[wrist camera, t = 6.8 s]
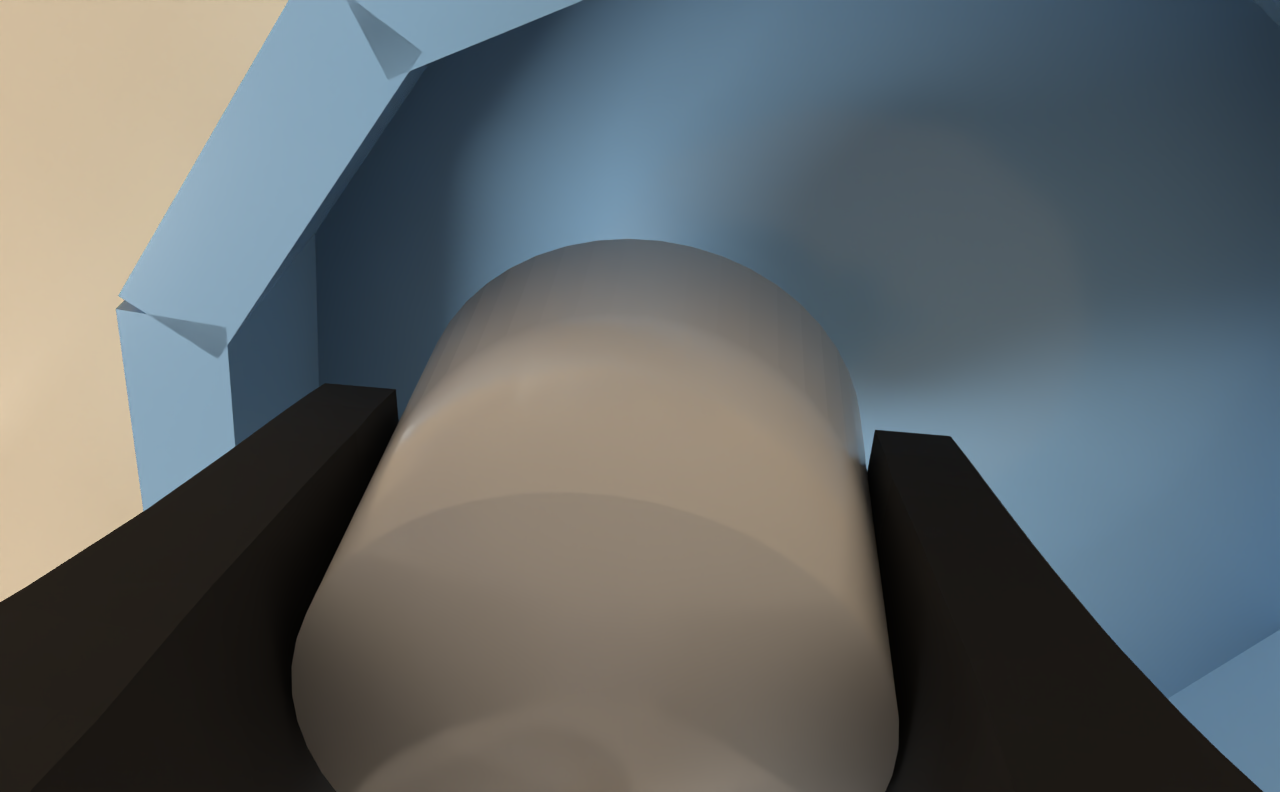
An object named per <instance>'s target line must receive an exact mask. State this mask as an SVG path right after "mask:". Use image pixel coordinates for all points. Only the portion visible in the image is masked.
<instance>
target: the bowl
mask: <svg viewBox="0 0 1280 792" xmlns="http://www.w3.org/2000/svg"><path fill="white" fill-rule="evenodd" d="M616 239H640V240H656V241H664V242H669V243H675V244H680V245H686V246H691V247H694V248H698V249H701V250H704V251H707V252H711V253H714V254H717V255H720V256H723V257H725V258H727V259H730V260H732V261H734V262H736V263H739V264H741V265H743V266H745V267H747V268H750V269H752V270H753V271H755V272H756V273H758V274H760V275H761V276H763V277H765V278H766V279H768V280H770V281H771V282H773V283H774V284H776V285H778V286H779V287H780V288H781V289H783V290H784V291H785V292H786V293H788V294H789V295H790V296H791V297H793V298H794V299H795V300H796V301H798V302H799V303H800V304H801V305H802V306H803V307H804V308H805V309H806V310H807V311H808V312H809V313H810V314H811V316H812V317H813V318H814V319H815V320H816V321H817V322H818V323H819V324H820V325H821V326H822V328H823V329H824V331H825V332H826V333H827V335H828V336H829V338H830V339H831V340H832V342H833V343H834V345H835V346H836V347H837V349H838V351H839V353H840V355H841V357H842V359H843V361H844V363H845V365H846V367H847V369H848V371H849V374H850V377H851V380H852V383H853V386H854V389H855V392H856V395H857V400H858V406H859V412H860V418H861V425H862V433H863V440H864V448H865V456H866V464H867V470H868V465H869V459H870V454H871V448H872V443H873V438H874V432H875V430H885V431H897V432H909V433H920V434H932V435H944V436H951V437H952V439H953V440H954V441H955V442H956V444H957V445H958V446H959V447H960V449H961V450H962V451H963V453H964V454H965V455H966V456H967V458H968V459H969V460H970V462H971V463H972V464H973V466H974V467H975V468H976V470H977V471H978V472H979V474H980V475H981V476H982V478H983V479H984V480H985V482H986V483H987V484H988V486H989V487H990V488H991V490H992V491H993V492H994V494H995V495H996V496H997V498H998V499H999V500H1000V501H1001V503H1002V504H1003V505H1004V507H1005V508H1006V509H1007V511H1008V512H1009V513H1010V515H1011V516H1012V517H1013V519H1014V520H1015V521H1016V522H1017V524H1018V525H1019V526H1020V528H1021V529H1022V530H1023V531H1024V533H1025V534H1026V535H1027V537H1028V538H1029V539H1030V541H1031V542H1032V543H1033V544H1034V546H1035V547H1036V548H1037V549H1038V551H1039V552H1040V553H1041V555H1042V556H1043V557H1044V558H1045V560H1046V561H1047V562H1048V563H1049V565H1050V566H1051V567H1052V568H1053V570H1054V571H1055V572H1056V573H1057V574H1058V576H1059V577H1060V578H1061V579H1062V580H1063V582H1064V583H1065V584H1066V585H1067V586H1068V588H1069V589H1070V590H1071V591H1072V592H1073V594H1074V595H1075V596H1076V597H1077V598H1078V599H1079V601H1080V602H1081V603H1082V604H1083V605H1084V607H1085V608H1086V609H1087V610H1088V611H1089V613H1090V614H1091V615H1092V616H1093V617H1094V619H1095V620H1096V621H1097V622H1098V623H1099V625H1100V626H1101V627H1102V628H1103V629H1104V630H1105V632H1106V633H1107V634H1108V635H1109V636H1110V637H1111V638H1112V640H1113V641H1114V642H1115V643H1116V644H1117V645H1118V646H1119V647H1120V649H1121V650H1122V651H1123V652H1124V653H1125V654H1126V655H1127V656H1128V657H1129V658H1130V659H1131V660H1132V661H1133V663H1134V664H1135V665H1136V666H1137V667H1138V668H1139V669H1140V670H1141V671H1142V672H1143V673H1144V674H1145V675H1146V676H1147V677H1148V678H1149V679H1150V681H1151V682H1152V683H1153V684H1154V685H1155V686H1156V687H1157V688H1158V689H1159V690H1160V691H1161V692H1162V693H1163V694H1164V695H1165V696H1166V698H1167V699H1168V700H1169V701H1170V702H1171V703H1172V704H1173V705H1174V706H1175V707H1176V708H1177V709H1178V710H1179V711H1180V712H1181V713H1182V714H1183V715H1184V716H1185V717H1186V718H1187V719H1188V720H1189V721H1190V722H1191V723H1192V724H1193V725H1194V726H1195V727H1196V728H1197V729H1198V730H1199V731H1200V732H1201V733H1202V734H1203V735H1204V736H1205V737H1206V738H1207V739H1208V740H1209V741H1210V742H1211V743H1212V744H1213V745H1214V746H1215V747H1216V748H1217V749H1218V750H1219V751H1220V752H1221V753H1222V754H1223V755H1224V756H1225V757H1226V758H1227V759H1229V760H1230V761H1231V762H1232V763H1233V764H1234V765H1235V766H1236V767H1237V768H1238V769H1239V770H1240V771H1242V772H1243V773H1244V774H1245V775H1246V776H1247V777H1248V778H1249V779H1250V780H1251V781H1252V782H1253V783H1255V784H1256V785H1257V786H1258V787H1259V788H1260V789H1261V790H1262V791H1263V792H1280V0H289V1H288V2H287V4H286V6H285V8H284V9H283V11H282V13H281V15H280V16H279V18H278V20H277V22H276V23H275V25H274V27H273V28H272V30H271V32H270V34H269V35H268V37H267V39H266V41H265V42H264V44H263V46H262V48H261V49H260V51H259V53H258V54H257V56H256V58H255V60H254V61H253V63H252V65H251V67H250V68H249V70H248V72H247V74H246V75H245V77H244V79H243V80H242V82H241V84H240V86H239V87H238V89H237V91H236V93H235V94H234V96H233V98H232V100H231V101H230V103H229V105H228V106H227V108H226V110H225V112H224V113H223V115H222V117H221V119H220V120H219V122H218V124H217V126H216V127H215V129H214V131H213V132H212V134H211V136H210V138H209V139H208V141H207V143H206V145H205V146H204V148H203V150H202V152H201V153H200V155H199V157H198V158H197V160H196V162H195V164H194V165H193V167H192V169H191V171H190V172H189V174H188V176H187V178H186V179H185V181H184V183H183V184H182V186H181V188H180V190H179V191H178V193H177V195H176V197H175V198H174V200H173V202H172V204H171V205H170V207H169V209H168V210H167V212H166V214H165V216H164V217H163V219H162V221H161V223H160V224H159V226H158V228H157V230H156V231H155V233H154V235H153V237H152V238H151V240H150V242H149V243H148V245H147V247H146V249H145V250H144V252H143V254H142V256H141V257H140V259H139V261H138V263H137V264H136V266H135V268H134V269H133V271H132V273H131V275H130V276H129V278H128V280H127V282H126V283H125V285H124V287H123V289H122V290H121V292H120V294H119V295H118V296H119V297H121V298H122V299H124V301H123V302H122V303H121V304H120V305H119V306H118V307H117V308H116V313H117V321H118V328H119V335H120V342H121V350H122V357H123V364H124V372H125V379H126V386H127V394H128V401H129V408H130V416H131V423H132V430H133V438H134V445H135V452H136V460H137V467H138V474H139V482H140V489H141V496H142V503H143V511H145V510H146V509H148V508H149V507H151V506H152V505H153V504H155V503H156V502H158V501H159V500H161V499H162V498H163V497H165V496H166V495H168V494H169V493H170V492H172V491H173V490H175V489H176V488H178V487H179V486H180V485H182V484H183V483H185V482H186V481H187V480H189V479H190V478H192V477H193V476H194V475H196V474H197V473H199V472H200V471H202V470H203V469H204V468H206V467H207V466H209V465H210V464H211V463H213V462H214V461H216V460H217V459H219V458H220V457H221V456H223V455H224V454H226V453H227V452H228V451H230V450H231V449H232V448H234V447H235V446H237V445H238V444H239V443H241V442H242V441H243V440H245V439H246V438H248V437H249V436H250V435H252V434H253V433H254V432H256V431H257V430H258V429H260V428H261V427H263V426H264V425H265V424H267V423H268V422H269V421H271V420H272V419H274V418H275V417H276V416H278V415H279V414H280V413H282V412H283V411H285V410H286V409H287V408H289V407H290V406H292V405H293V404H294V403H296V402H297V401H299V400H300V399H302V398H303V397H305V396H306V395H307V394H309V393H310V392H312V391H314V390H315V389H317V388H318V387H320V386H321V385H323V384H324V383H330V384H342V385H353V386H365V387H377V388H389V389H396V396H397V407H398V419H399V420H400V418H401V416H402V414H403V412H404V410H405V408H406V406H407V404H408V402H409V400H410V398H411V396H412V393H413V391H414V389H415V387H416V385H417V383H418V381H419V379H420V377H421V375H422V373H423V371H424V369H425V367H426V365H427V362H428V360H429V358H430V356H431V354H432V352H433V350H434V348H435V346H436V344H437V342H438V340H439V339H440V337H441V335H442V334H443V332H444V330H445V329H446V327H447V325H448V324H449V322H450V321H451V319H452V318H453V317H454V316H455V315H456V313H457V312H458V311H459V310H460V309H461V308H462V306H463V305H464V304H465V303H466V302H467V301H468V300H469V299H470V298H471V297H472V296H473V295H474V294H476V293H477V292H478V291H479V290H480V289H481V288H482V287H483V286H485V285H486V284H487V283H488V282H490V281H491V280H493V279H494V278H496V277H498V276H499V275H501V274H502V273H504V272H505V271H507V270H508V269H510V268H512V267H514V266H516V265H518V264H520V263H522V262H524V261H526V260H528V259H531V258H533V257H535V256H537V255H540V254H543V253H546V252H549V251H553V250H556V249H559V248H562V247H565V246H570V245H575V244H581V243H586V242H592V241H599V240H616Z"/></svg>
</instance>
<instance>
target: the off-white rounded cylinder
mask: <svg viewBox="0 0 1280 792" xmlns="http://www.w3.org/2000/svg"><path fill="white" fill-rule="evenodd" d="M292 696H293V701H294V706H295V711H296V716H297V721H298V724H299V726H300V729H301V732H302V734H303V737H304V739H305V742H306V745H307V747H308V749H309V751H310V753H311V754H312V756H313V758H314V760H315V761H316V763H317V765H318V767H319V769H320V770H321V772H322V774H323V775H324V776H325V777H326V779H327V780H328V781H329V783H330V784H331V785H332V787H333V788H334V789H335V791H336V792H885V791H886V789H887V787H888V784H889V782H890V779H891V777H892V775H893V770H894V766H895V761H896V757H897V752H898V744H899V716H898V708H897V700H896V692H895V684H894V676H893V668H892V661H891V653H890V645H889V637H888V629H887V621H886V613H885V606H884V598H883V590H882V582H881V574H880V567H879V560H878V553H877V545H876V537H875V529H874V521H873V513H872V505H871V497H870V490H869V482H868V474H867V464H866V456H865V448H864V440H863V433H862V425H861V418H860V412H859V406H858V400H857V395H856V392H855V389H854V386H853V383H852V380H851V377H850V374H849V371H848V369H847V367H846V365H845V363H844V361H843V359H842V357H841V355H840V353H839V351H838V349H837V347H836V346H835V345H834V343H833V342H832V340H831V339H830V338H829V336H828V335H827V333H826V332H825V331H824V329H823V328H822V326H821V325H820V324H819V323H818V322H817V321H816V320H815V319H814V318H813V317H812V316H811V314H810V313H809V312H808V311H807V310H806V309H805V308H804V307H803V306H802V305H801V304H800V303H799V302H798V301H796V300H795V299H794V298H793V297H791V296H790V295H789V294H788V293H786V292H785V291H784V290H783V289H781V288H780V287H779V286H778V285H776V284H774V283H773V282H771V281H770V280H768V279H766V278H765V277H763V276H761V275H760V274H758V273H756V272H755V271H753V270H752V269H750V268H747V267H745V266H743V265H741V264H739V263H736V262H734V261H732V260H730V259H727V258H725V257H723V256H720V255H717V254H714V253H711V252H707V251H704V250H701V249H698V248H694V247H691V246H686V245H680V244H675V243H669V242H664V241H656V240H640V239H616V240H599V241H592V242H586V243H581V244H575V245H570V246H565V247H562V248H559V249H556V250H553V251H549V252H546V253H543V254H540V255H537V256H535V257H533V258H531V259H528V260H526V261H524V262H522V263H520V264H518V265H516V266H514V267H512V268H510V269H508V270H507V271H505V272H504V273H502V274H501V275H499V276H498V277H496V278H494V279H493V280H491V281H490V282H488V283H487V284H486V285H485V286H483V287H482V288H481V289H480V290H479V291H478V292H477V293H476V294H474V295H473V296H472V297H471V298H470V299H469V300H468V301H467V302H466V303H465V304H464V305H463V306H462V308H461V309H460V310H459V311H458V312H457V313H456V315H455V316H454V317H453V318H452V319H451V321H450V322H449V324H448V325H447V327H446V329H445V330H444V332H443V334H442V335H441V337H440V339H439V340H438V342H437V344H436V346H435V348H434V350H433V352H432V354H431V356H430V358H429V360H428V362H427V365H426V367H425V369H424V371H423V373H422V375H421V377H420V379H419V381H418V383H417V385H416V387H415V389H414V391H413V393H412V396H411V398H410V400H409V402H408V404H407V406H406V408H405V410H404V412H403V414H402V416H401V418H400V420H399V422H398V424H397V427H396V429H395V431H394V433H393V435H392V437H391V439H390V441H389V443H388V445H387V447H386V449H385V451H384V453H383V456H382V458H381V460H380V462H379V464H378V466H377V468H376V470H375V472H374V474H373V476H372V478H371V480H370V482H369V484H368V487H367V489H366V491H365V493H364V495H363V497H362V499H361V501H360V503H359V505H358V507H357V509H356V511H355V513H354V516H353V518H352V520H351V522H350V524H349V526H348V528H347V530H346V532H345V534H344V536H343V538H342V540H341V542H340V544H339V547H338V549H337V551H336V553H335V555H334V557H333V559H332V561H331V563H330V565H329V567H328V569H327V571H326V573H325V576H324V578H323V580H322V582H321V584H320V586H319V588H318V590H317V592H316V594H315V596H314V598H313V600H312V602H311V604H310V607H309V609H308V611H307V613H306V615H305V618H304V621H303V623H302V626H301V628H300V631H299V634H298V636H297V639H296V644H295V650H294V655H293V661H292Z"/></svg>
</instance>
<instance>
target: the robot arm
mask: <svg viewBox="0 0 1280 792" xmlns="http://www.w3.org/2000/svg"><path fill="white" fill-rule="evenodd" d="M398 422H399V419H398V407H397V396H396V389H389V388H377V387H365V386H353V385H342V384H330V383H324V384H323V385H321V386H320V387H318V388H317V389H315V390H314V391H312V392H310V393H309V394H307V395H306V396H305V397H303V398H302V399H300V400H299V401H297V402H296V403H294V404H293V405H292V406H290V407H289V408H287V409H286V410H285V411H283V412H282V413H280V414H279V415H278V416H276V417H275V418H274V419H272V420H271V421H269V422H268V423H267V424H265V425H264V426H263V427H261V428H260V429H258V430H257V431H256V432H254V433H253V434H252V435H250V436H249V437H248V438H246V439H245V440H243V441H242V442H241V443H239V444H238V445H237V446H235V447H234V448H232V449H231V450H230V451H228V452H227V453H226V454H224V455H223V456H221V457H220V458H219V459H217V460H216V461H214V462H213V463H211V464H210V465H209V466H207V467H206V468H204V469H203V470H202V471H200V472H199V473H197V474H196V475H194V476H193V477H192V478H190V479H189V480H187V481H186V482H185V483H183V484H182V485H180V486H179V487H178V488H176V489H175V490H173V491H172V492H170V493H169V494H168V495H166V496H165V497H163V498H162V499H161V500H159V501H158V502H156V503H155V504H153V505H152V506H151V507H149V508H148V509H146V510H145V511H143V512H142V513H140V514H139V515H137V516H136V517H134V518H133V519H131V520H130V521H128V522H127V523H125V524H123V525H122V526H120V527H119V528H117V529H116V530H114V531H113V532H111V533H109V534H108V535H106V536H105V537H103V538H102V539H100V540H99V541H97V542H95V543H94V544H92V545H91V546H89V547H88V548H86V549H85V550H83V551H81V552H80V553H78V554H77V555H75V556H74V557H72V558H71V559H69V560H67V561H66V562H64V563H63V564H61V565H60V566H58V567H56V568H55V569H53V570H52V571H50V572H49V573H47V574H46V575H44V576H42V577H41V578H39V579H38V580H36V581H35V582H33V583H32V584H30V585H28V586H27V587H25V588H24V589H22V590H20V591H19V592H17V593H15V594H14V595H12V596H10V597H8V598H7V599H5V600H3V601H2V602H0V792H336V791H335V789H334V788H333V787H332V785H331V784H330V783H329V781H328V780H327V779H326V777H325V776H324V775H323V774H322V772H321V770H320V769H319V767H318V765H317V763H316V761H315V760H314V758H313V756H312V754H311V753H310V751H309V749H308V747H307V745H306V742H305V739H304V737H303V734H302V732H301V729H300V726H299V724H298V721H297V716H296V711H295V706H294V701H293V696H292V661H293V655H294V650H295V644H296V639H297V636H298V634H299V631H300V628H301V626H302V623H303V621H304V618H305V615H306V613H307V611H308V609H309V607H310V604H311V602H312V600H313V598H314V596H315V594H316V592H317V590H318V588H319V586H320V584H321V582H322V580H323V578H324V576H325V573H326V571H327V569H328V567H329V565H330V563H331V561H332V559H333V557H334V555H335V553H336V551H337V549H338V547H339V544H340V542H341V540H342V538H343V536H344V534H345V532H346V530H347V528H348V526H349V524H350V522H351V520H352V518H353V516H354V513H355V511H356V509H357V507H358V505H359V503H360V501H361V499H362V497H363V495H364V493H365V491H366V489H367V487H368V484H369V482H370V480H371V478H372V476H373V474H374V472H375V470H376V468H377V466H378V464H379V462H380V460H381V458H382V456H383V453H384V451H385V449H386V447H387V445H388V443H389V441H390V439H391V437H392V435H393V433H394V431H395V429H396V427H397V424H398ZM867 474H868V482H869V490H870V497H871V505H872V513H873V521H874V529H875V537H876V545H877V553H878V560H879V567H880V574H881V582H882V590H883V598H884V606H885V613H886V621H887V629H888V637H889V645H890V653H891V661H892V668H893V676H894V684H895V692H896V700H897V708H898V716H899V744H898V752H897V757H896V761H895V766H894V770H893V775H892V777H891V779H890V782H889V784H888V787H887V789H886V791H885V792H1263V791H1262V790H1261V789H1260V788H1259V787H1258V786H1257V785H1256V784H1255V783H1253V782H1252V781H1251V780H1250V779H1249V778H1248V777H1247V776H1246V775H1245V774H1244V773H1243V772H1242V771H1240V770H1239V769H1238V768H1237V767H1236V766H1235V765H1234V764H1233V763H1232V762H1231V761H1230V760H1229V759H1227V758H1226V757H1225V756H1224V755H1223V754H1222V753H1221V752H1220V751H1219V750H1218V749H1217V748H1216V747H1215V746H1214V745H1213V744H1212V743H1211V742H1210V741H1209V740H1208V739H1207V738H1206V737H1205V736H1204V735H1203V734H1202V733H1201V732H1200V731H1199V730H1198V729H1197V728H1196V727H1195V726H1194V725H1193V724H1192V723H1191V722H1190V721H1189V720H1188V719H1187V718H1186V717H1185V716H1184V715H1183V714H1182V713H1181V712H1180V711H1179V710H1178V709H1177V708H1176V707H1175V706H1174V705H1173V704H1172V703H1171V702H1170V701H1169V700H1168V699H1167V698H1166V696H1165V695H1164V694H1163V693H1162V692H1161V691H1160V690H1159V689H1158V688H1157V687H1156V686H1155V685H1154V684H1153V683H1152V682H1151V681H1150V679H1149V678H1148V677H1147V676H1146V675H1145V674H1144V673H1143V672H1142V671H1141V670H1140V669H1139V668H1138V667H1137V666H1136V665H1135V664H1134V663H1133V661H1132V660H1131V659H1130V658H1129V657H1128V656H1127V655H1126V654H1125V653H1124V652H1123V651H1122V650H1121V649H1120V647H1119V646H1118V645H1117V644H1116V643H1115V642H1114V641H1113V640H1112V638H1111V637H1110V636H1109V635H1108V634H1107V633H1106V632H1105V630H1104V629H1103V628H1102V627H1101V626H1100V625H1099V623H1098V622H1097V621H1096V620H1095V619H1094V617H1093V616H1092V615H1091V614H1090V613H1089V611H1088V610H1087V609H1086V608H1085V607H1084V605H1083V604H1082V603H1081V602H1080V601H1079V599H1078V598H1077V597H1076V596H1075V595H1074V594H1073V592H1072V591H1071V590H1070V589H1069V588H1068V586H1067V585H1066V584H1065V583H1064V582H1063V580H1062V579H1061V578H1060V577H1059V576H1058V574H1057V573H1056V572H1055V571H1054V570H1053V568H1052V567H1051V566H1050V565H1049V563H1048V562H1047V561H1046V560H1045V558H1044V557H1043V556H1042V555H1041V553H1040V552H1039V551H1038V549H1037V548H1036V547H1035V546H1034V544H1033V543H1032V542H1031V541H1030V539H1029V538H1028V537H1027V535H1026V534H1025V533H1024V531H1023V530H1022V529H1021V528H1020V526H1019V525H1018V524H1017V522H1016V521H1015V520H1014V519H1013V517H1012V516H1011V515H1010V513H1009V512H1008V511H1007V509H1006V508H1005V507H1004V505H1003V504H1002V503H1001V501H1000V500H999V499H998V498H997V496H996V495H995V494H994V492H993V491H992V490H991V488H990V487H989V486H988V484H987V483H986V482H985V480H984V479H983V478H982V476H981V475H980V474H979V472H978V471H977V470H976V468H975V467H974V466H973V464H972V463H971V462H970V460H969V459H968V458H967V456H966V455H965V454H964V453H963V451H962V450H961V449H960V447H959V446H958V445H957V444H956V442H955V441H954V440H953V439H952V437H951V436H944V435H932V434H920V433H909V432H897V431H885V430H875V432H874V438H873V443H872V448H871V454H870V459H869V465H868V470H867Z"/></svg>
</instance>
